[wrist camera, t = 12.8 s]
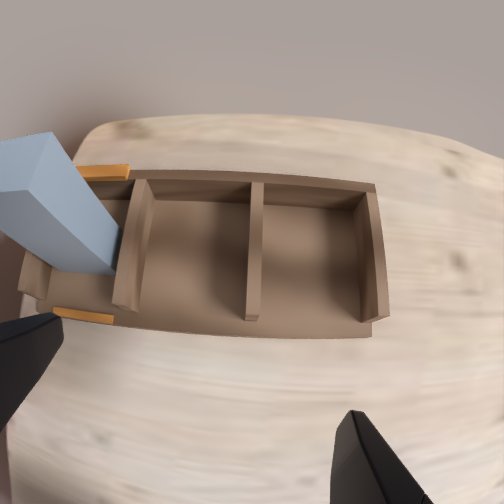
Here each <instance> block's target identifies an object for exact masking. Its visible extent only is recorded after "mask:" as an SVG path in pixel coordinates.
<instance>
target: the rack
mask: <svg viewBox="0 0 504 504" xmlns="http://www.w3.org/2000/svg"><path fill="white" fill-rule="evenodd" d="M76 169H77V170H78V171H79V173H80V174H81V176H82V177H83V179H84V180H85V181H86V183H87V184H88V186H89V187H90V188H91V190H92V191H93V193H94V194H95V195H96V197H97V198H98V199H99V201H100V202H101V203H102V205H103V206H104V207H105V209H106V210H107V211H108V213H109V214H110V215H111V217H112V218H113V219H114V221H115V222H116V223H117V225H118V226H119V227H120V228H121V230H122V231H123V232H124V233H123V238H122V243H121V248H120V253H119V259H118V265H117V271H116V276H113V275H100V274H88V273H76V272H65V271H59V270H58V269H56V268H55V267H53V266H52V265H50V264H48V263H47V262H45V261H44V260H42V259H41V258H39V257H38V256H36V255H35V254H33V253H32V252H30V251H29V250H27V249H26V252H25V256H24V260H23V264H22V269H21V274H20V278H19V284H18V289H17V290H19V291H21V292H23V293H25V294H28V295H30V296H32V297H35V298H37V299H39V300H38V306H37V312H39V313H42V314H43V313H47V312H53V313H55V314H57V315H58V316H60V317H62V318H68V319H74V320H80V321H86V322H93V323H100V324H107V325H114V326H122V327H129V328H138V329H146V330H156V331H166V332H176V333H188V334H200V335H214V336H231V337H252V338H285V339H344V338H368V337H372V322H374V321H377V320H380V319H382V318H385V317H388V316H390V311H389V295H388V282H387V270H386V260H385V251H384V243H383V235H382V227H381V220H380V213H379V207H378V201H377V195H376V189H375V184H371V183H363V182H355V181H347V180H338V179H329V178H319V177H308V176H296V175H284V174H270V173H254V172H234V171H208V170H130V167H129V165H128V164H118V165H95V166H78V167H76Z"/></svg>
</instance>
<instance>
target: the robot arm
mask: <svg viewBox="0 0 504 504" xmlns="http://www.w3.org/2000/svg"><path fill="white" fill-rule="evenodd" d="M63 340H64V334H63V325H62V319H61V317H60V316H58V315H57V314H55V313H53V312H47V313H43V314H38V315H34V316H29V317H25V318H20V319H16V320H12V321H7V322H3V323H0V433H1V431H2V430H3V428H4V427H5V425H6V424H7V423H8V421H9V420H10V418H11V417H12V415H13V414H14V413H15V411H16V410H17V409H18V407H19V406H20V404H21V403H22V402H23V400H24V399H25V398H26V396H27V395H28V394H29V392H30V391H31V390H32V388H33V387H34V386H35V384H36V383H37V382H38V381H39V379H40V378H41V376H42V375H43V373H44V372H45V370H46V369H47V367H48V365H49V364H50V362H51V360H52V359H53V357H54V356H55V354H56V353H57V351H58V349H59V348H60V346H61V345H62V343H63ZM424 493H425V492H424V491H423V489H422V488H421V487H420V485H419V484H418V483H417V482H416V480H415V479H414V478H413V476H412V475H411V474H410V472H409V471H408V470H407V468H406V467H405V466H404V465H403V463H402V462H401V461H400V459H399V458H398V457H397V455H396V454H395V453H394V451H393V450H392V449H391V447H390V446H389V445H388V444H387V442H386V441H385V440H384V438H383V437H382V436H381V434H380V433H379V432H378V430H377V429H376V428H375V426H374V425H373V424H372V422H371V421H370V420H369V418H368V417H367V416H366V414H365V413H364V412H362V411H355V410H350V411H349V412H348V413H347V414H346V416H345V417H344V419H343V420H342V422H341V423H340V425H339V426H338V428H337V431H336V436H335V445H334V453H333V461H332V469H331V480H330V504H434V503H433V502H432V501H431V500H430V498H429V497H428V496H427V494H424Z"/></svg>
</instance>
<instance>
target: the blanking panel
mask: <svg viewBox="0 0 504 504" xmlns="http://www.w3.org/2000/svg"><path fill="white" fill-rule="evenodd" d="M0 230H1V231H2V232H3V233H5V234H6V235H8V236H9V237H10V238H12V239H13V240H14V241H16V242H17V243H19V244H20V245H22V246H23V247H25V248H26V249H27V250H29V251H30V252H32V253H33V254H35V255H36V256H38V257H39V258H41V259H42V260H44V261H45V262H47V263H48V264H50V265H52V266H53V267H55V268H56V269H58V270H59V271H65V272H76V273H88V274H100V275H113V276H116V271H117V265H118V259H119V253H120V248H121V243H122V238H123V233H124V232H123V231H122V230H121V228H120V227H119V226H118V225H117V223H116V222H115V221H114V219H113V218H112V217H111V215H110V214H109V213H108V211H107V210H106V209H105V207H104V206H103V205H102V203H101V202H100V201H99V199H98V198H97V197H96V195H95V194H94V193H93V191H92V190H91V188H90V187H89V186H88V184H87V183H86V181H85V180H84V179H83V177H82V176H81V174H80V173H79V171H78V170H77V169H76V167H75V166H74V164H73V163H72V161H71V160H70V159H69V157H68V155H67V154H66V152H65V151H64V149H63V148H62V146H61V145H60V143H59V142H58V140H57V139H56V137H55V136H54V134H53V133H52V132H47V133H41V134H36V135H30V136H25V137H20V138H15V139H10V140H6V141H2V142H0Z"/></svg>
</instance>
